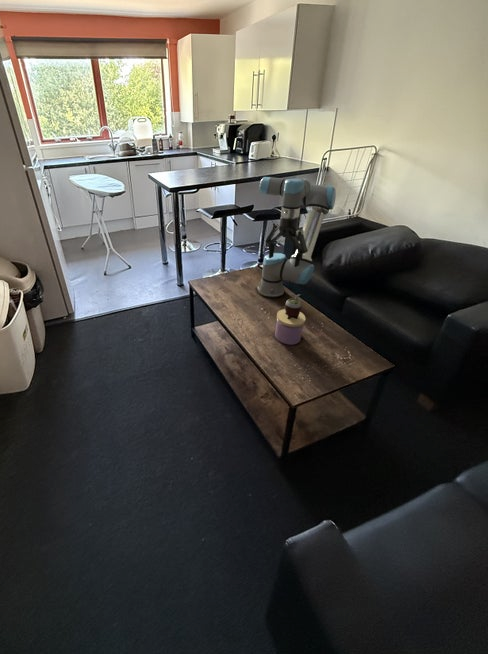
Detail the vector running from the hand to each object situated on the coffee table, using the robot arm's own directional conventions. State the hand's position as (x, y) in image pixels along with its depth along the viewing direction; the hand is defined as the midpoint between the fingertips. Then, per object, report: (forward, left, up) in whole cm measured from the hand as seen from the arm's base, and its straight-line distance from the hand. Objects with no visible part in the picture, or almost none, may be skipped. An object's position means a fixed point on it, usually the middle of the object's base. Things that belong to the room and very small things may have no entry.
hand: (283, 261), depth 147 cm
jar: (+8, +12, -33) cm, 36 cm away
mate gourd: (+8, +13, -21) cm, 26 cm away
